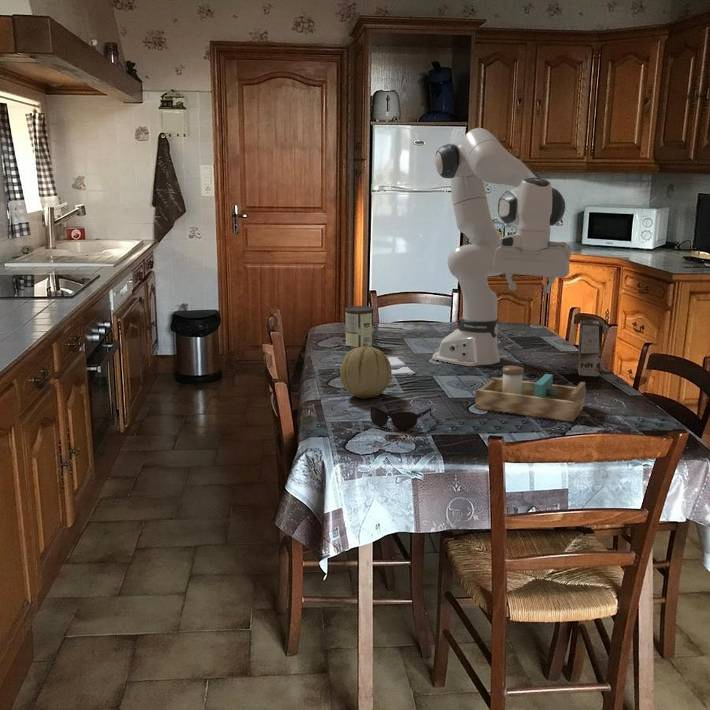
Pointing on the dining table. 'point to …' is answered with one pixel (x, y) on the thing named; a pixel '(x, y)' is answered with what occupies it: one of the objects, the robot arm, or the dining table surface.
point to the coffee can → (359, 326)
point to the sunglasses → (395, 416)
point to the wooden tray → (532, 400)
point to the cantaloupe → (365, 372)
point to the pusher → (545, 387)
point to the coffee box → (590, 347)
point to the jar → (512, 379)
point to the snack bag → (396, 362)
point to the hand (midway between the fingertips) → (529, 291)
